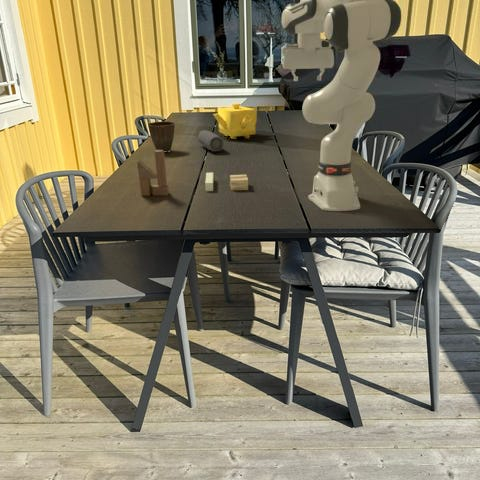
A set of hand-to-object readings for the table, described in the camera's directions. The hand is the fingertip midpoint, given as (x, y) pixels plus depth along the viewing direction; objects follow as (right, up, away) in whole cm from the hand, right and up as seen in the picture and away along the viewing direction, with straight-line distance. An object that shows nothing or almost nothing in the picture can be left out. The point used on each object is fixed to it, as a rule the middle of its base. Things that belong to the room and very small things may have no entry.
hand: (307, 80), depth 174 cm
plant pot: (-71, -14, +74) cm, 103 cm away
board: (-41, -41, +10) cm, 59 cm away
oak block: (-28, -43, +7) cm, 51 cm away
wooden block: (-62, -46, +1) cm, 77 cm away
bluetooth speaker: (-44, -12, +76) cm, 89 cm away
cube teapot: (-30, +2, +108) cm, 112 cm away
